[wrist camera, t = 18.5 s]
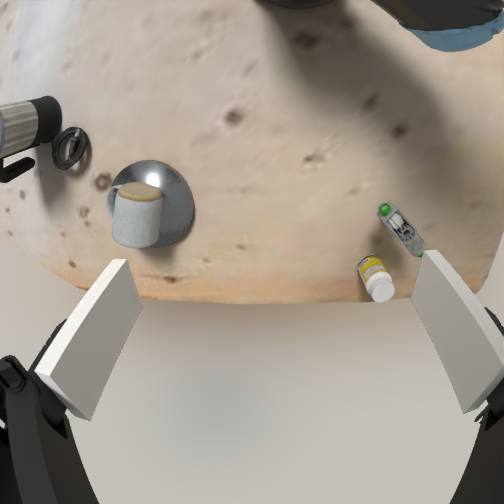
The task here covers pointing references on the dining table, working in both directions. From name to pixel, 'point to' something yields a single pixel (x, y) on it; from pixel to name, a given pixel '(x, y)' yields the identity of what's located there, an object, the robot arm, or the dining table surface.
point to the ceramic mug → (135, 214)
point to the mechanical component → (401, 228)
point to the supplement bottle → (376, 278)
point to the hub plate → (173, 193)
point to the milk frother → (35, 134)
